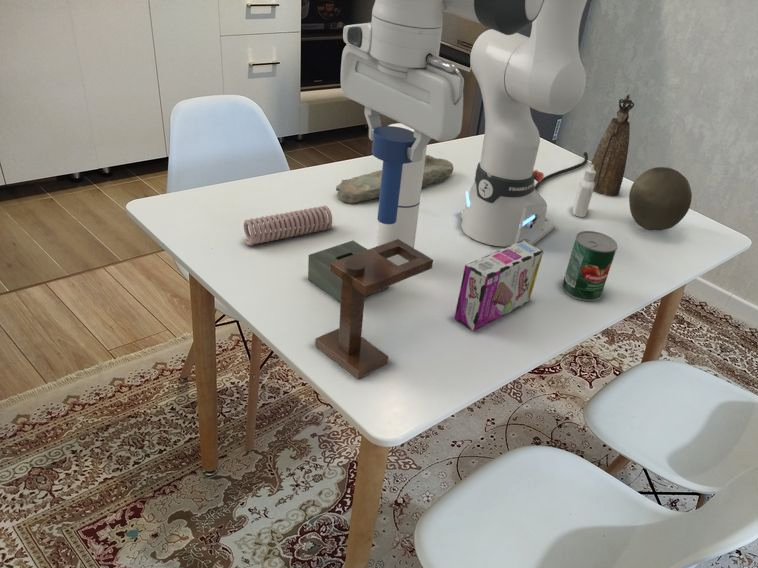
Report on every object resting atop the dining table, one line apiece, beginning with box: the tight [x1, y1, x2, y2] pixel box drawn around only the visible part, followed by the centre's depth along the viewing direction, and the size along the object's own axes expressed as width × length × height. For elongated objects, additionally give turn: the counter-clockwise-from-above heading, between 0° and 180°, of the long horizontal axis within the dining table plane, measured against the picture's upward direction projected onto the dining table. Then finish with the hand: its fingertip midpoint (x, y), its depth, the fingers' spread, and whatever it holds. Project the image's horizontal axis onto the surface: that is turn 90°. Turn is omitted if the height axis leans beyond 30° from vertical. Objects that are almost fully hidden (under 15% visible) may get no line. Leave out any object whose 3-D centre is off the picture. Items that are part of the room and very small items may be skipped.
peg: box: [371, 125, 417, 224], centre depth 94 cm, size 6×6×13 cm
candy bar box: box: [454, 240, 544, 332], centre depth 114 cm, size 11×5×16 cm
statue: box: [589, 94, 635, 197], centre depth 166 cm, size 9×8×25 cm
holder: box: [307, 240, 389, 303], centre depth 115 cm, size 10×10×5 cm
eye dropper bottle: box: [572, 164, 596, 218], centre depth 155 cm, size 4×6×12 cm
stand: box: [314, 239, 434, 380], centre depth 99 cm, size 15×10×16 cm
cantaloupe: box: [628, 166, 693, 232], centre depth 152 cm, size 14×14×15 cm
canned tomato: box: [561, 230, 618, 302], centre depth 125 cm, size 8×8×11 cm
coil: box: [243, 205, 333, 246], centre depth 126 cm, size 5×5×18 cm
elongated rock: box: [335, 154, 454, 204], centre depth 153 cm, size 35×5×10 cm
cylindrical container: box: [375, 122, 428, 266], centre depth 119 cm, size 7×7×25 cm
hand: (394, 150), depth 91 cm, fingers closed on peg, 6 cm apart
